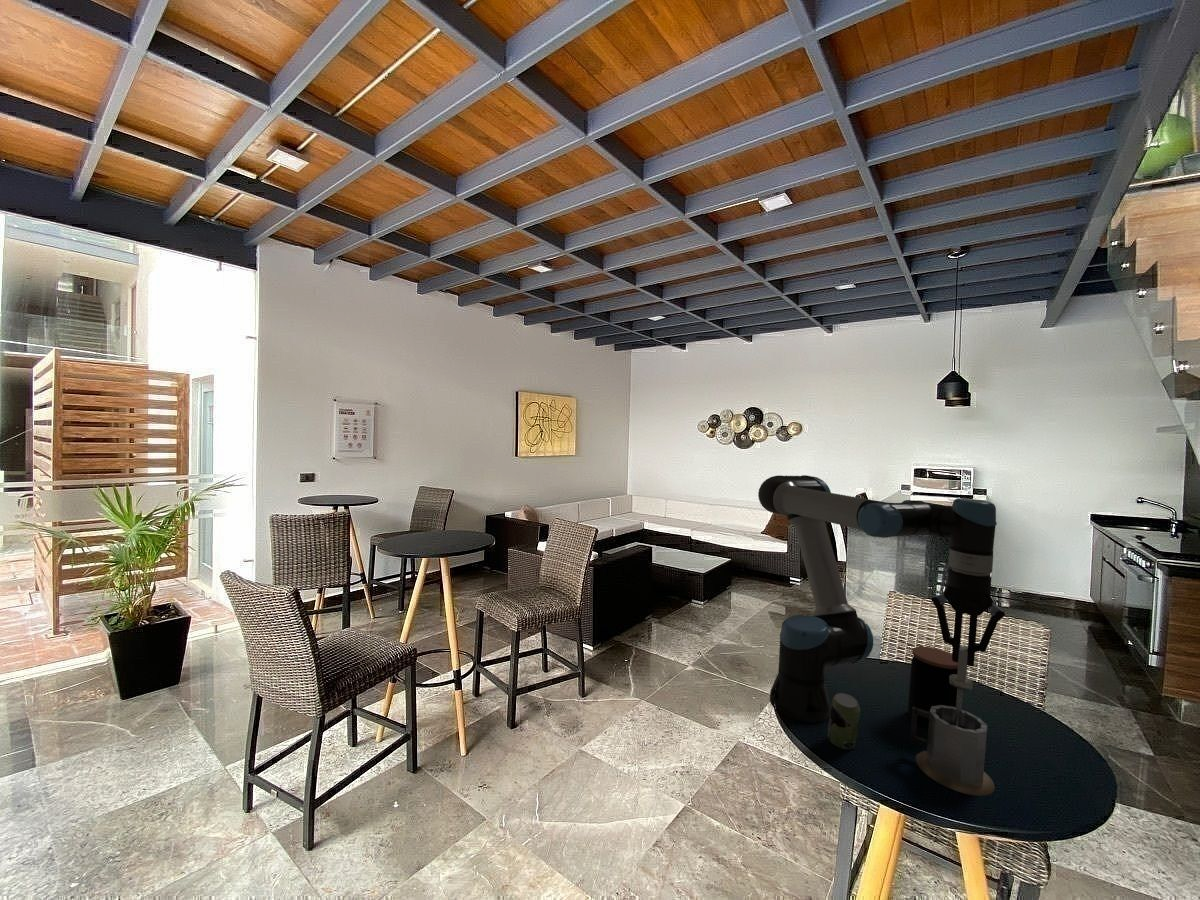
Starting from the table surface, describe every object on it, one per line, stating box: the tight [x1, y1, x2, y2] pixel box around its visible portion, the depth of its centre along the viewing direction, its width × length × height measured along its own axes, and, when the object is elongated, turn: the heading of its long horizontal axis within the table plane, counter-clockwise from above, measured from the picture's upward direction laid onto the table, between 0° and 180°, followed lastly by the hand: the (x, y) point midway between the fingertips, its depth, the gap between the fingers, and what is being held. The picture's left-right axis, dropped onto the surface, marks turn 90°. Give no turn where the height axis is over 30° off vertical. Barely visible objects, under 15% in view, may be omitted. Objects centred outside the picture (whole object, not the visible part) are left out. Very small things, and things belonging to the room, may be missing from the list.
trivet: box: [915, 750, 995, 797], centre depth 106 cm, size 14×14×1 cm
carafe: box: [909, 705, 988, 789], centre depth 107 cm, size 13×10×12 cm
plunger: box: [949, 674, 973, 728], centre depth 106 cm, size 7×7×13 cm
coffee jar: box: [907, 646, 958, 730], centre depth 125 cm, size 11×11×18 cm
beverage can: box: [827, 692, 861, 750], centre depth 114 cm, size 6×7×12 cm
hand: (961, 678), depth 105 cm, fingers closed
